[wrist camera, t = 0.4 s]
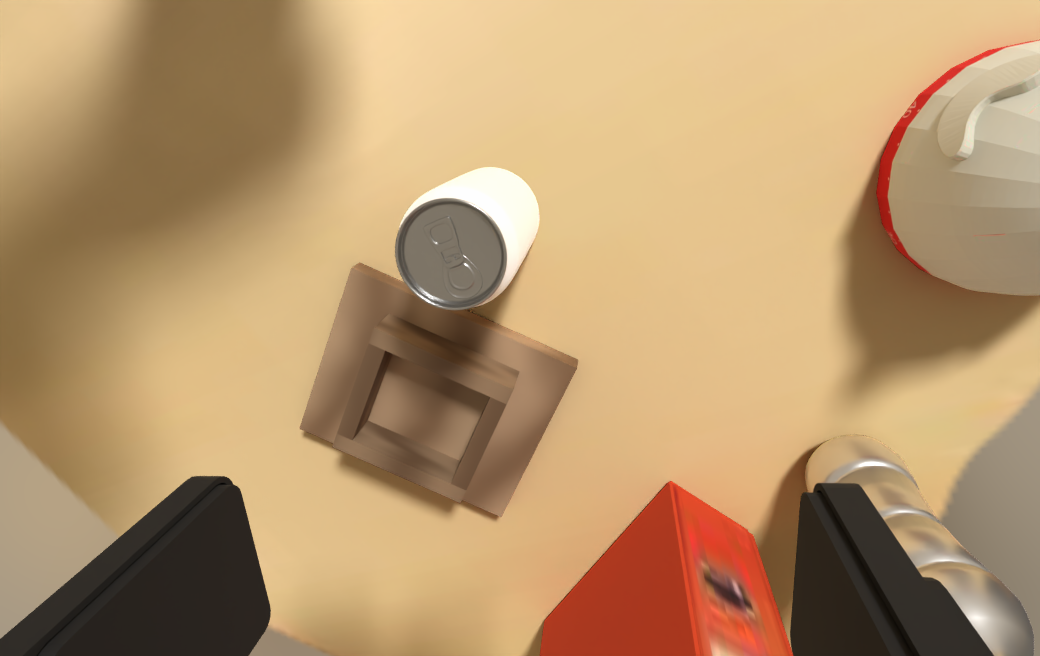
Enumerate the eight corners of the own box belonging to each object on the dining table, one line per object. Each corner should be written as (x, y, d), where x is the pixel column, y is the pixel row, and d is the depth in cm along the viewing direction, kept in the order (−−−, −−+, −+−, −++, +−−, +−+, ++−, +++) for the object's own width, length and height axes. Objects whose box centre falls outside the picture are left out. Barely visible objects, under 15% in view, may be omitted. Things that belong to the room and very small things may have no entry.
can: (469, 275, 43) (420, 335, 32) (429, 188, 41) (363, 218, 30) (555, 242, 41) (536, 293, 30) (517, 150, 39) (483, 167, 28)
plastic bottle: (862, 406, 42) (1065, 643, 23) (912, 476, 43) (1143, 754, 25) (778, 452, 44) (904, 705, 25) (828, 518, 45) (983, 804, 27)
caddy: (308, 419, 48) (280, 448, 44) (359, 262, 43) (333, 279, 39) (504, 505, 49) (494, 543, 45) (577, 359, 44) (574, 386, 40)
